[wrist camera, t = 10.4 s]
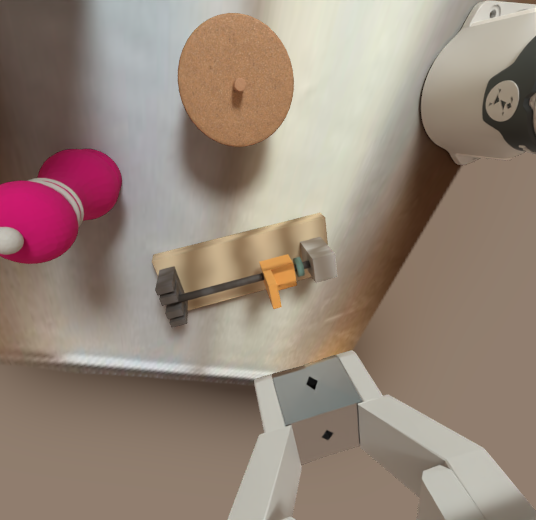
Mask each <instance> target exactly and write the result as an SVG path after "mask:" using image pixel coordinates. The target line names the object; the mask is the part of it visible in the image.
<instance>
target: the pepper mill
mask: <svg viewBox="0 0 536 520" xmlns="http://www.w3.org/2000/svg"><path fill="white" fill-rule="evenodd" d="M121 184H122V178H121V173H120V170H119V168H118V167H117V165H116V164H115V162H114V161H113V160H112V159H111V158H110V157H108V156H107V155H106V154H104V153H102V152H100V151H97V150H93V149H67V150H62V151H60V152H57V153H56V154H54V155H52V156H51V157H49V158H48V159H47V160H46V161H45V162H44V163H43V165H42V167H41V169H40V171H39V174H38V178H35V179H31V180H28V181H21V180H20V181H13V182H7V183H3V184H1V185H0V256H1V257H3V258H5V259H8V260H11V261H14V262H18V263H26V264H34V263H42V262H47V261H50V260H52V259H55V258H57V257H59V256H61V255H62V254H63V253H65V252H66V251H67V250H68V249H69V248H70V247H71V246H72V244H73V243H74V241H75V239H76V237H77V234H78V228H79V227H80V225H81V223H82V221H83V220H91V219H96V218H98V217H101V216H103V215H104V214H106V213H107V212H108V211H110V210H111V209H112V208H113V206H114V205H115V203H116V202H117V199H118V196H119V191H120V188H121Z"/></svg>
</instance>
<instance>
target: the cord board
mask: <svg viewBox="0 0 536 520" xmlns="http://www.w3.org/2000/svg"><path fill="white" fill-rule="evenodd" d="M287 254H288V255H289V257H290V258H291V260H292V262H293V264H294V270H295V276H296V281H299V280H303V279H306V278H310V277H312V278H313V279H314V281H315V282H316V283H317V282H320V281H324V280H328V279H331V278H335V277H337V268H336V256H335V252H334V251H333V250H332V249H331V248H330V247H329V246H328V242H327V232H326V222H325V217H324V216H323V215H322V214H321V213H317V214H313V215H309V216H305V217H301V218H297V219H293V220H290V221H286V222H282V223H278V224H274V225H270V226H266V227H262V228H258V229H254V230H250V231H246V232H242V233H238V234H234V235H230V236H226V237H222V238H218V239H214V240H210V241H206V242H202V243H198V244H194V245H190V246H186V247H182V248H178V249H174V250H170V251H166V252H162V253H158V254H154V255H153V259H152V263H153V265H154V268H155V270H156V273H157V275H158V280H157V284H156V289H155V291H156V293H157V295H160V298H159V300H160V302H161V304H162V306H163V305H167V306H166V316H167V318H168V319H170V325H171V327H176V326H180V325H183V324H187V314H188V310H192V309H196V308H199V307H203V306H207V305H210V304H214V303H218V302H221V301H225V300H229V299H233V298H236V297H240V296H244V295H247V294H251V293H255V292H258V291H262V290H266V287H265V285H264V281H263V280H264V276H263V273H262V270H261V267H260V263H259V262H260V261H264V260H268V259H271V258H275V257H279V256H283V255H287Z"/></svg>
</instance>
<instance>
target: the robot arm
mask: <svg viewBox="0 0 536 520" xmlns="http://www.w3.org/2000/svg"><path fill="white" fill-rule="evenodd" d="M490 12H491V17H490ZM421 116H422V122H423V125H424V128H425V131H426V133H427V134H428V136H429V137H430V139H431V140H432V141H433V142H434V143H435V144H437V145H438V146H440V147H442V148H444V149H445V150H447V151H448V152H449V154H450V156H451V157H452V159H453V161H454V162H455V163H456V164H458V165H467V164H469V163H472V162H474V161H476V160H478V159H480V158H486V159H495V160H504V161H506V160H511V159H512V158H513V157H516V156H519V155H521V154H522V153H525V152H528V153H532V154H536V5H534V4H522V3H511V2H499V1H484V2H480V3H478V4H476V5H475V7H474V8H473V9H472V11H471V12H470V14H469V16H468V17H467V19H466V21H465V23H464V25H463V27H462V29H461V30H460V31H459V33H458V34H457V35H456V36H455V37H454V38H453V39H452V40H451V41H450V42H449V43H448V44H447V45H446V46H445V47H444V49H443V50H442V51H441V52H440V54H439V55H438V57H437V58H436V60H435V61H434V63H433V65H432V67H431V69H430V71H429V73H428V75H427V78H426V81H425V84H424V88H423V92H422V99H421ZM254 385H255V390H256V395H257V399H258V404H259V409H260V414H261V419H262V424H263V429H264V433H263V434H260V435H259V437H258V439H257V442H256V445H255V447H254V450H253V453H252V455H251V458H250V460H249V463H248V466H247V469H246V471H245V474H244V477H243V479H242V482H241V485H240V487H239V490H238V493H237V496H236V498H235V501H234V504H233V506H232V509H231V512H230V514H229V517H228V520H295V519H294V518H292V515H293V510H294V505H295V500H296V494H297V489H298V484H299V479H300V473H301V468H302V467H301V465H304V464H306V463H309V462H312V461H315V460H317V459H320V458H323V457H326V456H328V455H332V454H335V453H338V452H342V451H345V450H349V449H352V448H355V447H359V446H360V447H361V449H362V450H364V451H365V452H366V453H367V454H368V455H370V456H371V457H372V458H373V459H374V460H375V461H377V462H378V463H379V464H380V465H382V466H383V467H384V468H385V469H386V470H387V471H388V472H390V473H391V474H392V475H393V476H394V477H395V478H397V479H398V480H399V481H400V482H401V483H403V484H404V485H405V486H406V487H407V488H408V489H410V490H411V491H412V492H413V493H414V494H416V495H417V496H418V497H419V505H418V513H417V520H536V510H535V509H534V508H533V507H532V506H531V504H530V503H529V502H528V501H527V500H526V498H525V497H524V496H523V495H522V494H521V493H520V491H519V490H518V489H517V488H516V486H515V485H514V484H513V483H512V481H511V480H510V479H509V478H508V477H507V475H506V474H505V473H504V472H503V471H502V469H501V468H500V467H499V466H498V464H497V463H496V462H495V461H494V460H493V458H492V457H491V456H490V455H489V454H488V452H487V451H486V450H485V449H484V448H483V447H481V446H479V445H477V444H476V443H474V442H472V441H470V440H468V439H467V438H465V437H463V436H461V435H459V434H458V433H456V432H454V431H452V430H451V429H449V428H447V427H445V426H444V425H441V424H440V423H438V422H436V421H435V420H433V419H431V418H429V417H428V416H426V415H424V414H422V413H420V412H419V411H417V410H415V409H413V408H412V407H410V406H408V405H406V404H404V403H403V402H401V401H399V400H397V399H396V398H394V397H392V396H390V395H388V394H387V395H382V394H381V392H380V390H379V389H378V387H377V386H376V384H375V383H374V381H373V380H372V378H371V376H370V375H369V373H368V372H367V370H366V369H365V367H364V365H363V364H362V362H361V361H360V359H359V358H358V356H357V354H356V353H355V352H354V351H353V350H351V351H348V352H344V353H341V354H338V355H336V356H335V355H333V356H330V357H327V358H324V359H321V360H317V361H314V362H311V363H308V364H305V365H303V366H299V367H296V368H292V369H288V370H285V371H281V372H277V373H273V374H272V376H271V374H270V375H267V376H263V377H260V378H256V379H254Z"/></svg>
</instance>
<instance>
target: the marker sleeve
mask: <svg viewBox="0 0 536 520" xmlns="http://www.w3.org/2000/svg"><path fill="white" fill-rule="evenodd" d="M259 263H260V267H261V270H262V273H263V276H264V280H263V281H264V285H265V287H266V290H267V293H268V295H269V298H270V301H271V303H272V306H273V309H276V308H280V307H281V302H280V297H279V292H278V290H282V289H286V288H289V287H293V286H297V282H296V276H295V270H294V264H293V262H292V260H291V258H290V257H289V255H288V254H287V255H283V256H279V257H275V258H271V259H268V260H264V261H260V262H259Z"/></svg>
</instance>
